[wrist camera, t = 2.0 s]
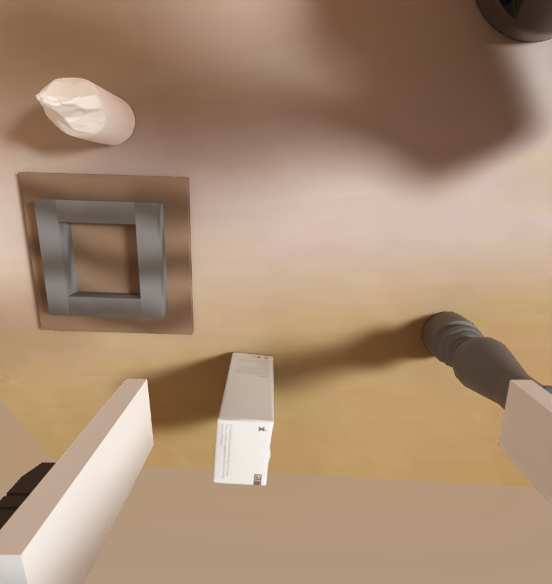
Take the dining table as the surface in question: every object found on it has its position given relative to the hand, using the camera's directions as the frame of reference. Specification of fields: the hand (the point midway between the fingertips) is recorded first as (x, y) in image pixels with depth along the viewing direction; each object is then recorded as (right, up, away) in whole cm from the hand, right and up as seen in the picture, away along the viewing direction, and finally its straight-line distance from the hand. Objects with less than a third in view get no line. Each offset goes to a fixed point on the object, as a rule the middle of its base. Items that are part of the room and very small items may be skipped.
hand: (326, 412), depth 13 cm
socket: (-23, +9, +33) cm, 41 cm away
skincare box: (-5, -8, +38) cm, 39 cm away
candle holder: (+21, -1, +36) cm, 41 cm away
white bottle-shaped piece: (-21, +24, +29) cm, 44 cm away
